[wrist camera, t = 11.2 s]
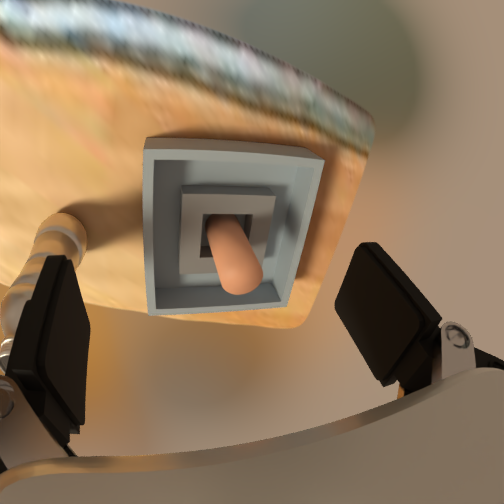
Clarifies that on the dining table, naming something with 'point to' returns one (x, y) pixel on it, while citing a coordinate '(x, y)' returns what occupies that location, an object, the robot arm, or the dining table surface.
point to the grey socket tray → (223, 202)
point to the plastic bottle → (46, 243)
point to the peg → (233, 254)
